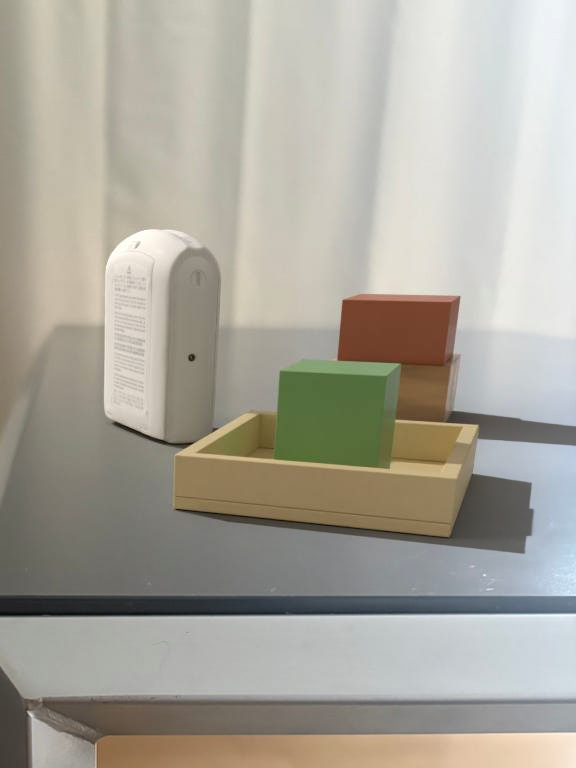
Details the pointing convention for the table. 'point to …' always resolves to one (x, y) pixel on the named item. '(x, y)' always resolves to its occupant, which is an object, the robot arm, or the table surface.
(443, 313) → the middle block
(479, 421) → the table surface
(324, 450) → the green block
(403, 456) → the tray
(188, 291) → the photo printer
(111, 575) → the table surface
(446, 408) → the base block
